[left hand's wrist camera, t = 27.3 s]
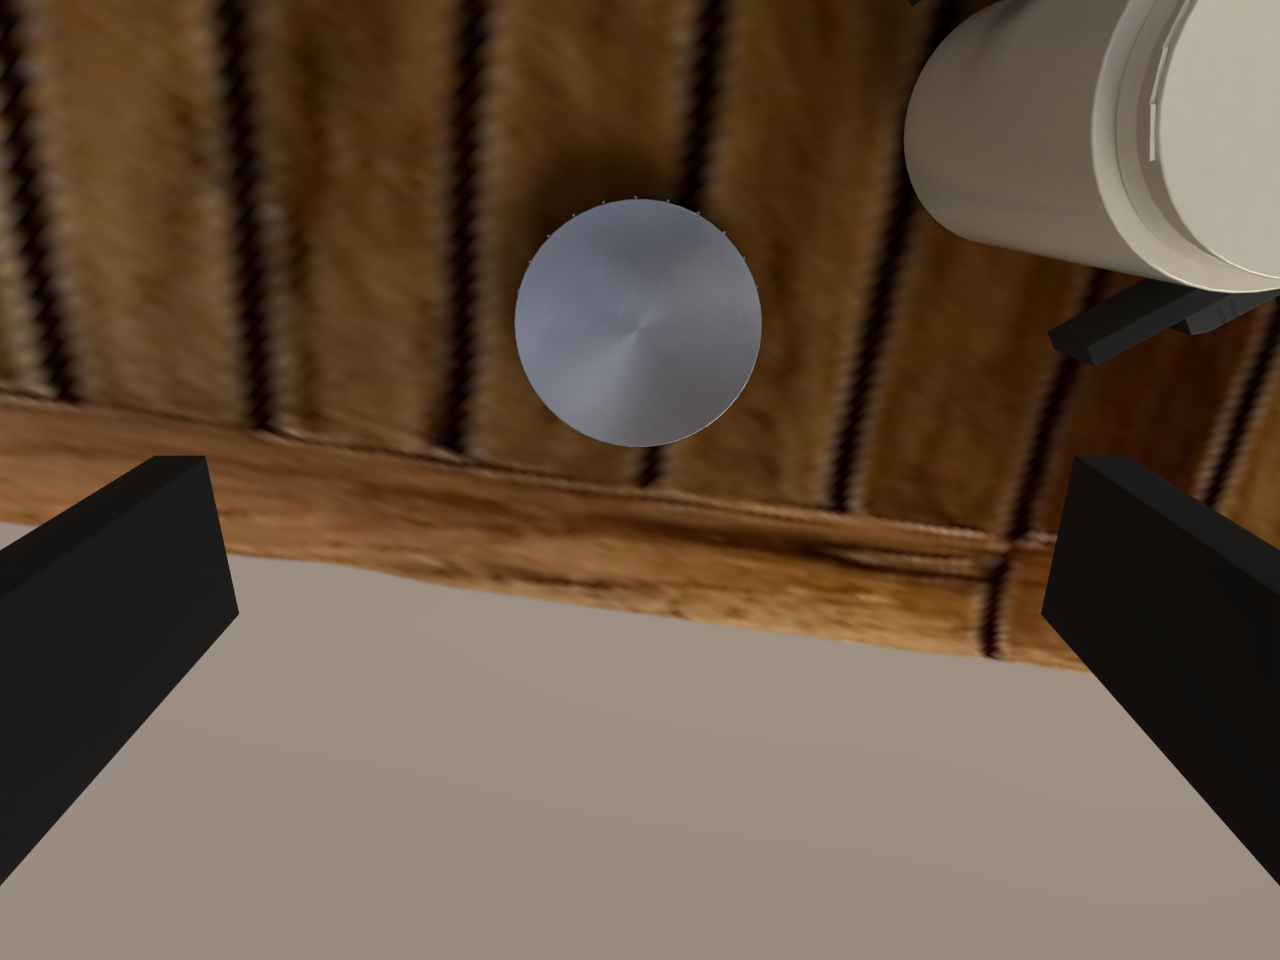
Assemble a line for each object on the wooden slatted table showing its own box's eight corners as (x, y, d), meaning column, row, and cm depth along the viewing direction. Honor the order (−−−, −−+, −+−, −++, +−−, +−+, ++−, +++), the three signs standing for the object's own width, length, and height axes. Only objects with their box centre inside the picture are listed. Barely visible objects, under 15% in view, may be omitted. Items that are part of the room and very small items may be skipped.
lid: (587, 471, 36) (585, 486, 34) (474, 266, 33) (465, 271, 31) (793, 374, 34) (801, 385, 33) (695, 149, 31) (699, 148, 29)
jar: (1135, -35, 29) (1632, -242, 15) (1137, 216, 32) (1548, 253, 18) (890, 28, 30) (1131, -110, 15) (915, 267, 33) (1135, 343, 18)
